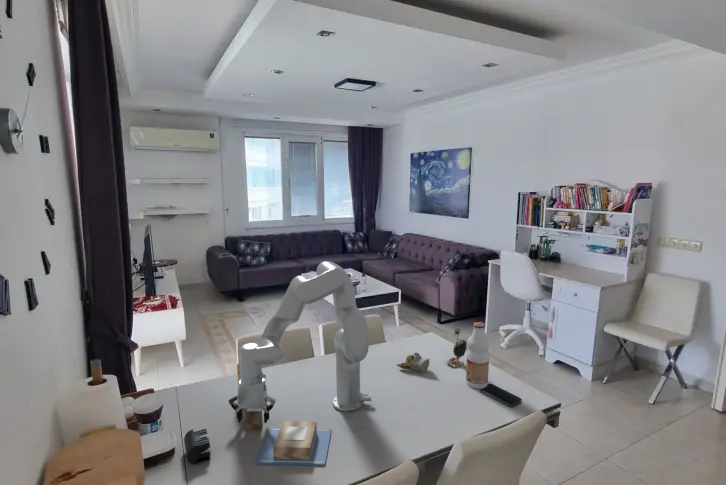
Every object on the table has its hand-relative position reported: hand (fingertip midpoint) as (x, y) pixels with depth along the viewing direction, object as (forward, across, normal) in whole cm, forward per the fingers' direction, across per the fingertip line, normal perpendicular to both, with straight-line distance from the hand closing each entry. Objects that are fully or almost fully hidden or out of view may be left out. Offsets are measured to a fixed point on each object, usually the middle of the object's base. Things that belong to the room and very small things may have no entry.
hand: (253, 420), depth 147 cm
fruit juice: (+2, -90, -33) cm, 96 cm away
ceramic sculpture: (+2, -64, -46) cm, 79 cm away
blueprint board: (+2, -18, +11) cm, 21 cm away
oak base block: (+2, -18, +11) cm, 21 cm away
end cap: (+3, +14, +16) cm, 21 cm away
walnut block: (+2, 0, 0) cm, 2 cm away
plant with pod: (+2, -85, -53) cm, 100 cm away
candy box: (+2, +8, -16) cm, 18 cm away
